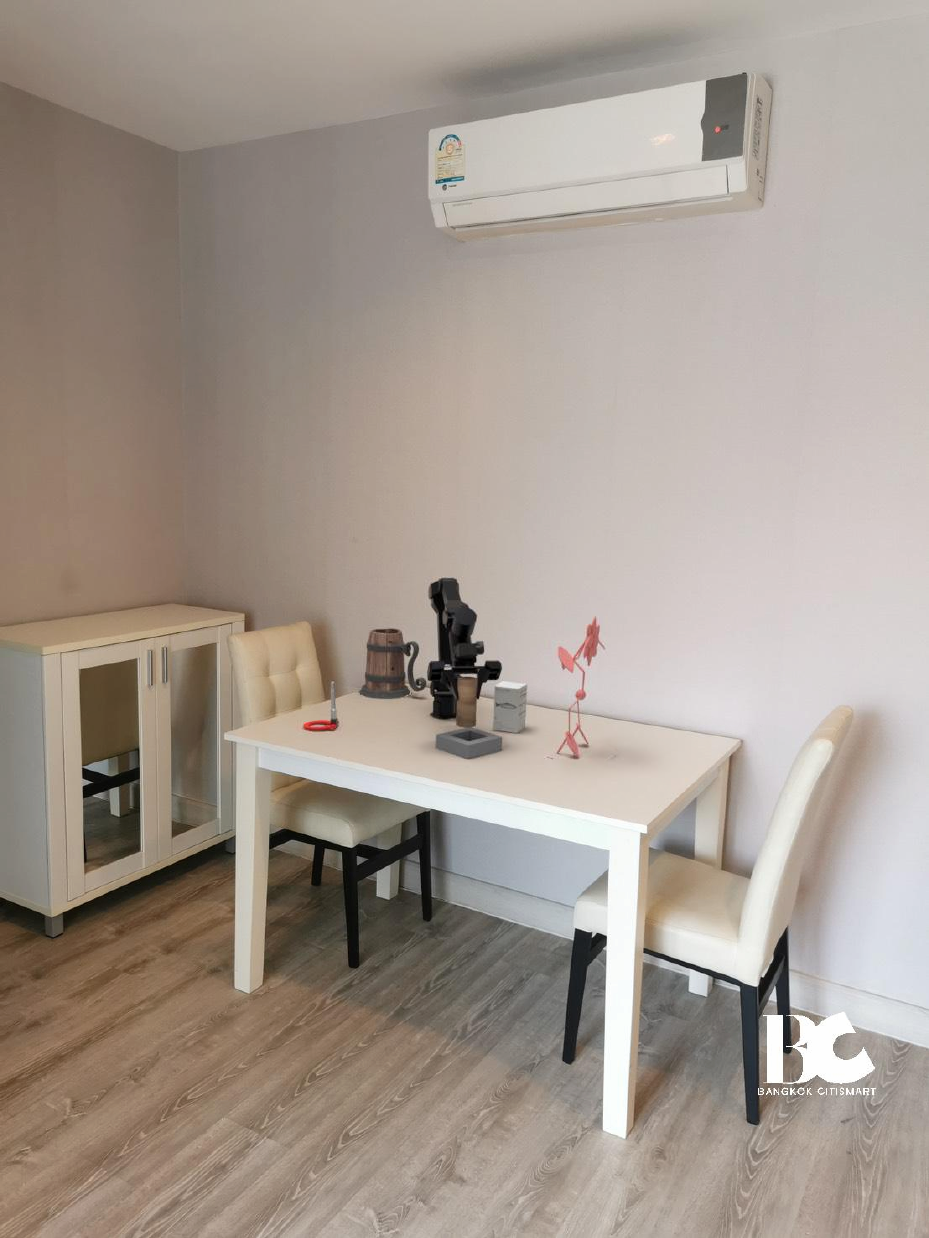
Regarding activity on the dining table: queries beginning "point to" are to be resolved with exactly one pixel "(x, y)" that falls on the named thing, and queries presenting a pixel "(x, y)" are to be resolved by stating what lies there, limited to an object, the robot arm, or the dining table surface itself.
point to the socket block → (468, 742)
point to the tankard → (389, 665)
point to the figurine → (569, 662)
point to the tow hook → (329, 724)
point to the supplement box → (509, 706)
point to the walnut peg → (466, 702)
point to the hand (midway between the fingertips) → (467, 699)
